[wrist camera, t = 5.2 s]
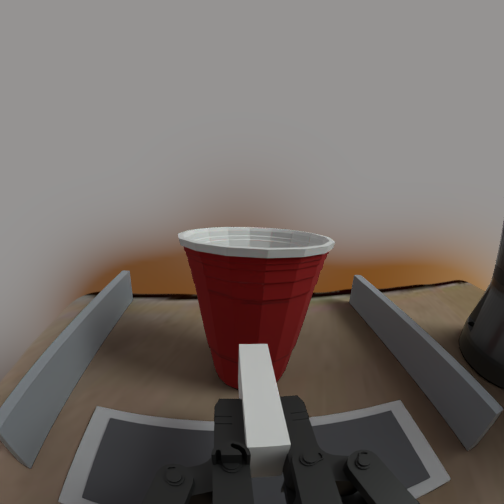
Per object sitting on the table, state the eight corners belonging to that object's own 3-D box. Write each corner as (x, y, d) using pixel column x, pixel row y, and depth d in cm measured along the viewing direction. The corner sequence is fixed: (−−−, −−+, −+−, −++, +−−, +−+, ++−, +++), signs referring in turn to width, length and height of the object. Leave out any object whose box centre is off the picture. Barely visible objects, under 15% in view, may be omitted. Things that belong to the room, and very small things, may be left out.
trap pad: (398, 402, 17) (400, 397, 17) (448, 481, 8) (452, 477, 8) (98, 408, 15) (96, 404, 15) (60, 503, 6) (56, 499, 6)
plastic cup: (295, 333, 28) (308, 219, 24) (327, 405, 17) (364, 251, 14) (192, 333, 27) (188, 216, 23) (179, 412, 16) (159, 247, 13)
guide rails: (355, 302, 35) (360, 275, 34) (475, 445, 10) (503, 409, 9) (126, 299, 33) (122, 270, 32) (20, 463, 7) (-12, 424, 6)
